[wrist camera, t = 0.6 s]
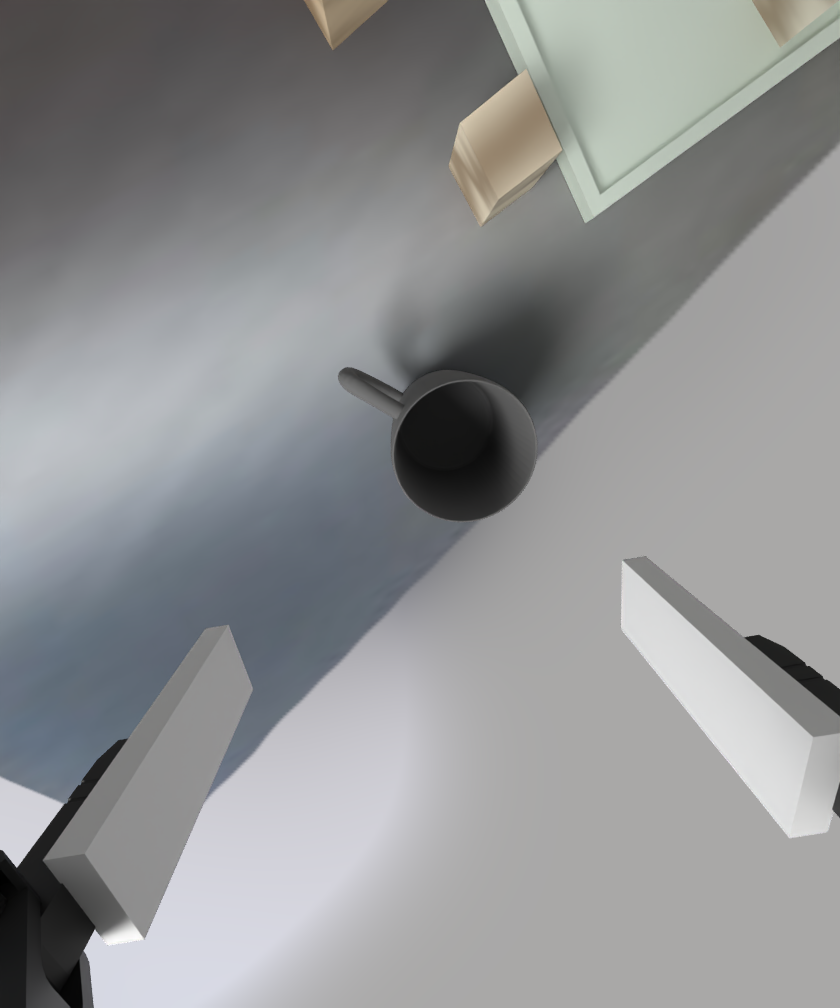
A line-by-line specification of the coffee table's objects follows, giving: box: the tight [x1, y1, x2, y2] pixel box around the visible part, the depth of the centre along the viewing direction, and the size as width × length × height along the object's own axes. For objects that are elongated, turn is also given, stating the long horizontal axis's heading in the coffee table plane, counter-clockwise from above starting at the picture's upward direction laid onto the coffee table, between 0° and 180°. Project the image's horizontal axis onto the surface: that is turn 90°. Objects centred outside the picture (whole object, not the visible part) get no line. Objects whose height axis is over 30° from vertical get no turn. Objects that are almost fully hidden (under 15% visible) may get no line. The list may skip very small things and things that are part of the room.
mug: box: [338, 367, 537, 522], centre depth 30 cm, size 14×9×12 cm
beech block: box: [449, 69, 562, 227], centre depth 27 cm, size 4×4×6 cm
